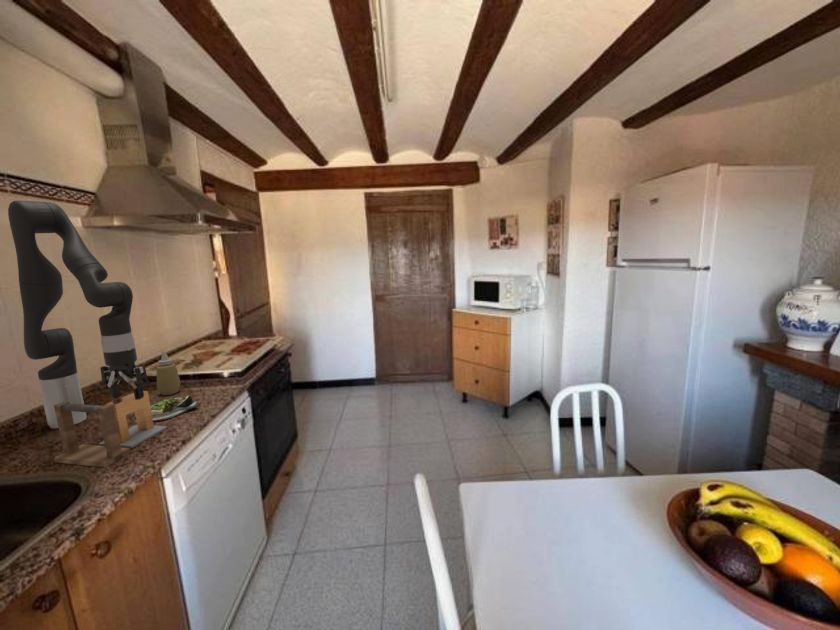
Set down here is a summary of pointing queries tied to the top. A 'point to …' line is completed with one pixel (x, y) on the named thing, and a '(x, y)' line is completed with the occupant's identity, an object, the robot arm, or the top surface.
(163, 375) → the squeeze bottle
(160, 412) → the salad plate
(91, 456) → the stand
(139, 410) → the link
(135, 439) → the mat
